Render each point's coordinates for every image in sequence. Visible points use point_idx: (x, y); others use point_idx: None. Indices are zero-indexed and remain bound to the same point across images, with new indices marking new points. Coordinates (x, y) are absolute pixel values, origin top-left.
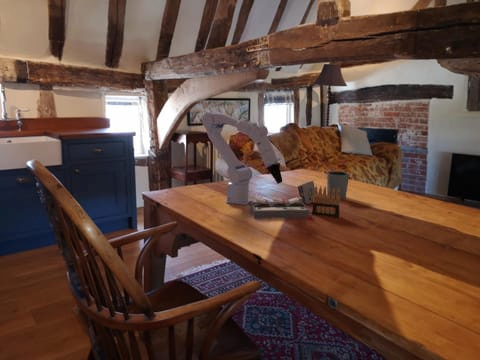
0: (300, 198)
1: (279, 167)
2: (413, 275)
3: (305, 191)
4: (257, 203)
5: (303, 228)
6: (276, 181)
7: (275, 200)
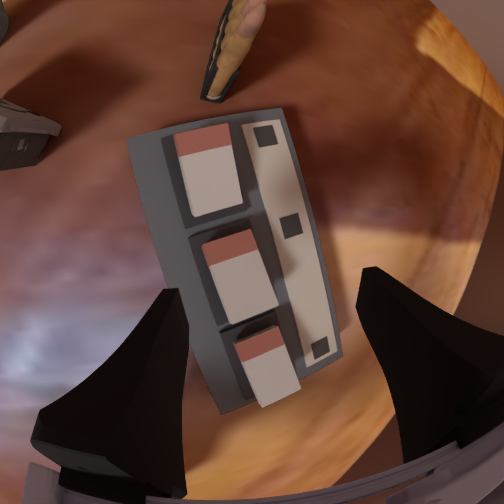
0: (221, 133)
1: (486, 332)
2: (450, 46)
3: (28, 118)
4: None
5: (375, 155)
6: (187, 348)
7: (271, 292)
